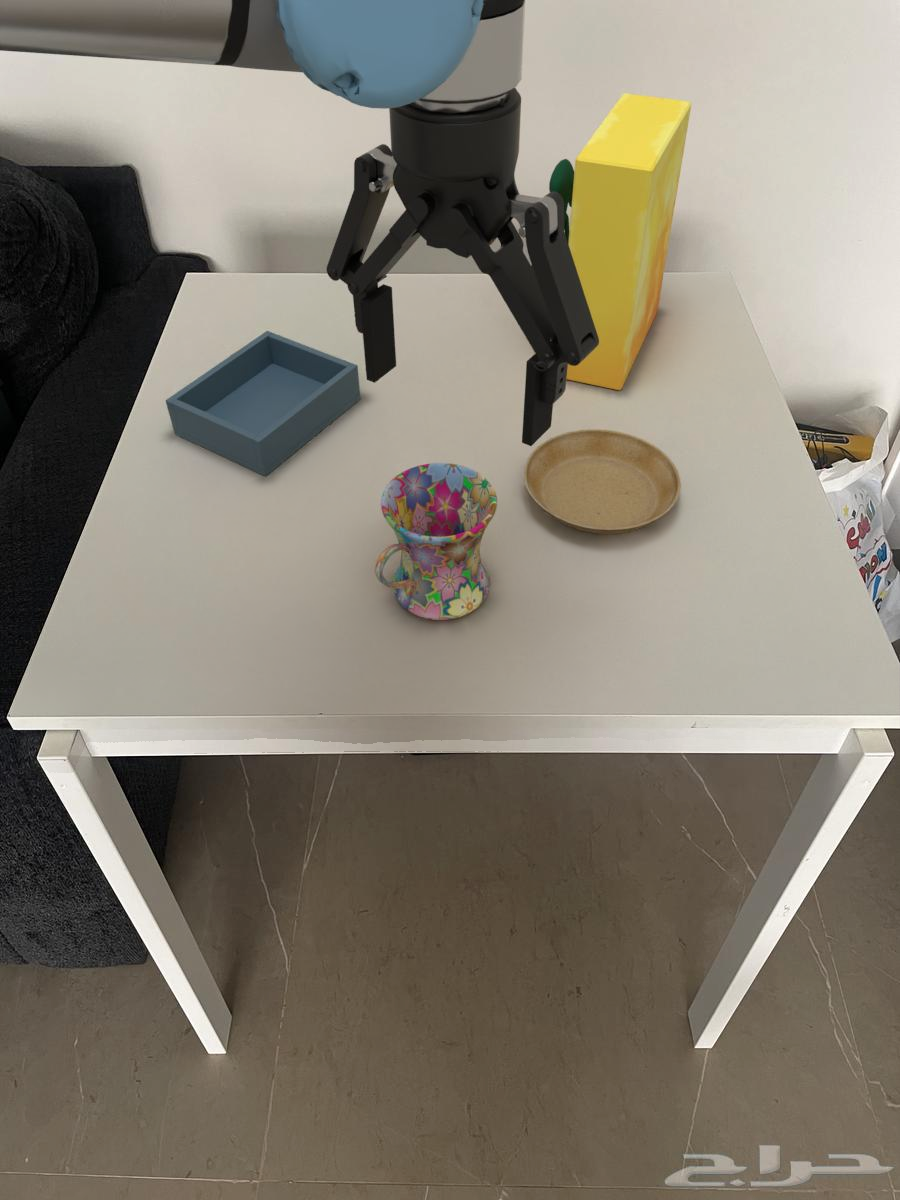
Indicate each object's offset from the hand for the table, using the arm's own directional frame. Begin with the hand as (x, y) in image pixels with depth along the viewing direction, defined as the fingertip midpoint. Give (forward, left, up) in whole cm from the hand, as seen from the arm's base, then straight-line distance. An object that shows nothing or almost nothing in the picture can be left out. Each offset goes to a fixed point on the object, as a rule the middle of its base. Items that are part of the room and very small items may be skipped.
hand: (456, 403), depth 69 cm
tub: (-31, +10, -20) cm, 38 cm away
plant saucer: (+5, +18, -20) cm, 27 cm away
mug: (-1, -2, -20) cm, 20 cm away
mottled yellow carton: (-9, +42, -20) cm, 47 cm away
